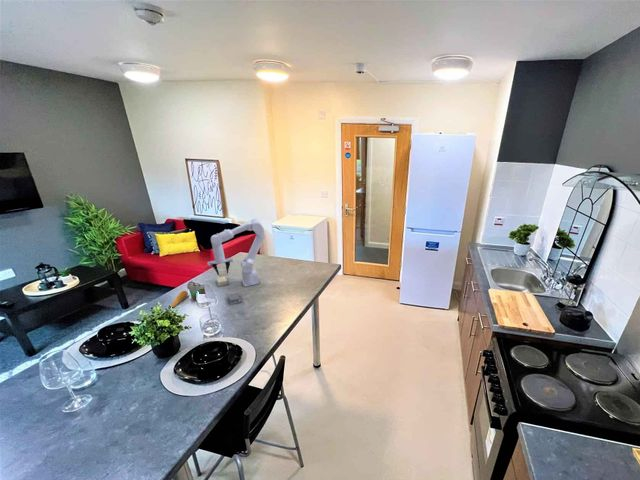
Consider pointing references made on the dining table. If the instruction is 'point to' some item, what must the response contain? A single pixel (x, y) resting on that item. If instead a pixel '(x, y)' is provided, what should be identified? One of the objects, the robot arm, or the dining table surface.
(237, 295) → the grey stack
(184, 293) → the carrot
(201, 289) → the food container
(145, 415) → the dining table surface
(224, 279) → the cream stack
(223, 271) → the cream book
